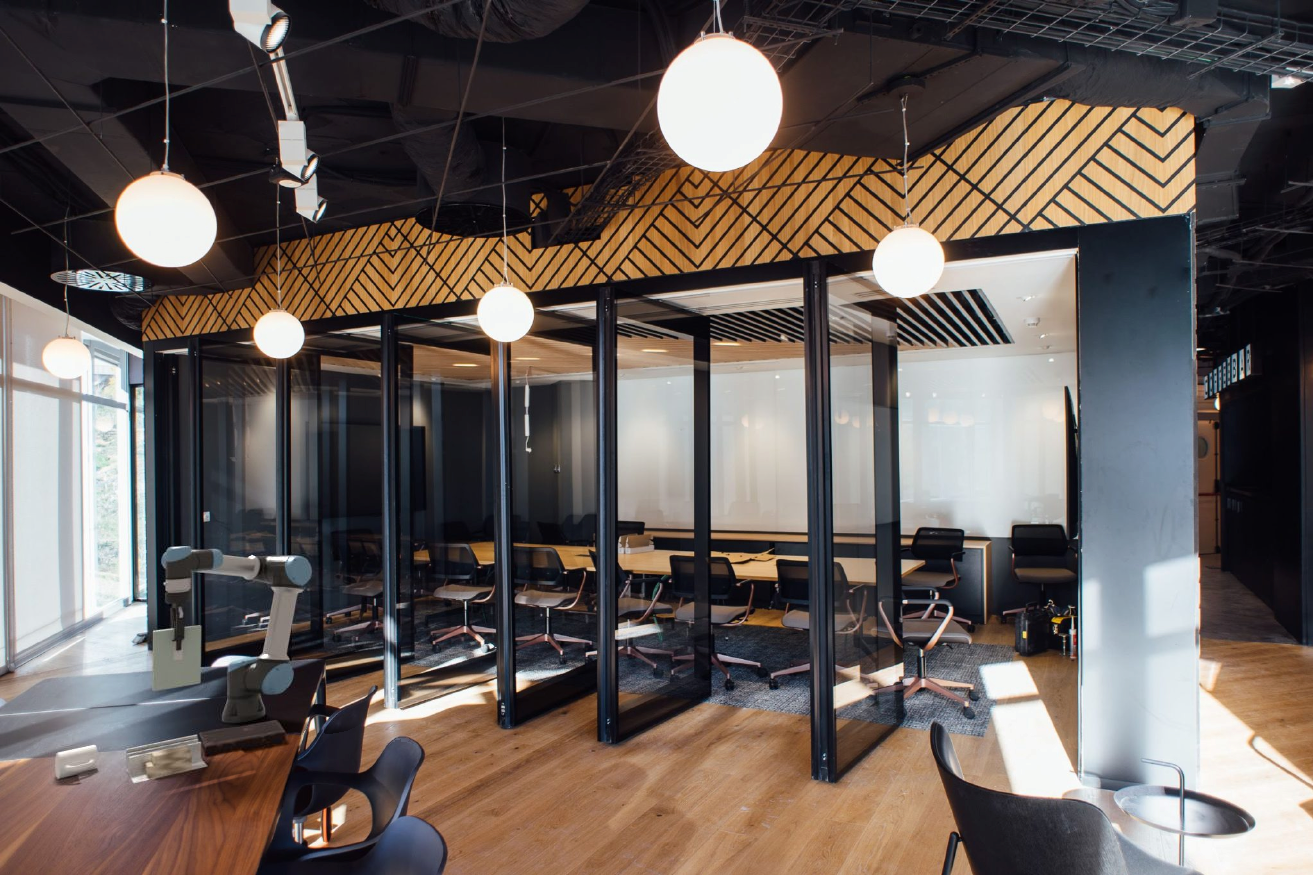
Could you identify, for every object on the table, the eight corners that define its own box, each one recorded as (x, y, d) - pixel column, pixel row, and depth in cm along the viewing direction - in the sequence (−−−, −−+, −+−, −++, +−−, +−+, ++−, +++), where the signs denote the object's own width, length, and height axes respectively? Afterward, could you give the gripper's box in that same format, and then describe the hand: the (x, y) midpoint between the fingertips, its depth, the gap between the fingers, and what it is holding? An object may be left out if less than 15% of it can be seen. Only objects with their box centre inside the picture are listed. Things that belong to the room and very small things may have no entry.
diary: (285, 745, 270) (285, 730, 271) (204, 761, 255) (204, 746, 256) (275, 731, 285) (275, 717, 286) (198, 746, 270) (199, 731, 271)
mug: (54, 775, 244) (55, 750, 244) (92, 766, 251) (93, 742, 252) (61, 784, 236) (62, 758, 236) (100, 775, 243) (100, 750, 243)
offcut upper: (187, 754, 249) (187, 744, 249) (190, 758, 245) (190, 748, 245) (151, 762, 242) (151, 752, 243) (153, 766, 239) (153, 756, 239)
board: (199, 681, 268) (199, 625, 270) (200, 683, 267) (201, 625, 268) (152, 689, 259) (153, 630, 260) (153, 691, 257) (154, 631, 259)
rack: (196, 755, 259) (196, 734, 260) (207, 769, 246) (207, 747, 246) (125, 770, 246) (126, 748, 247) (133, 786, 233) (133, 763, 233)
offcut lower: (188, 762, 249) (188, 753, 250) (191, 766, 246) (191, 757, 246) (145, 772, 241) (145, 763, 242) (147, 776, 238) (147, 767, 238)
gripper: (161, 590, 268) (160, 657, 267) (169, 594, 257) (168, 664, 255) (186, 587, 273) (185, 653, 272) (194, 591, 262) (194, 660, 260)
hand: (177, 658), depth 263 cm, fingers closed on board, 2 cm apart
